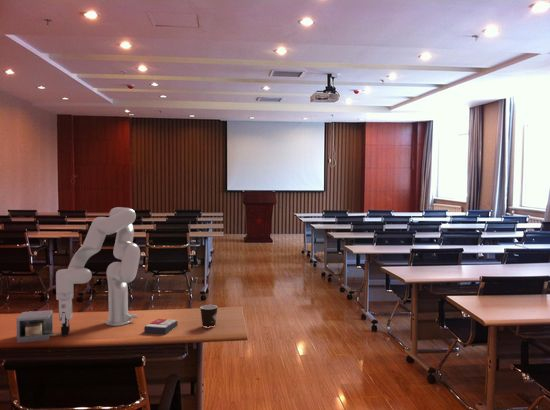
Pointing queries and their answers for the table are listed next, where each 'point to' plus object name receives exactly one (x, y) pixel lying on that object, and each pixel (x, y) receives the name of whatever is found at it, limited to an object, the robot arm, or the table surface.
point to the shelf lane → (34, 317)
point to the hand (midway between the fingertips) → (65, 333)
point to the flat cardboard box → (160, 326)
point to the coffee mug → (208, 315)
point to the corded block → (37, 329)
